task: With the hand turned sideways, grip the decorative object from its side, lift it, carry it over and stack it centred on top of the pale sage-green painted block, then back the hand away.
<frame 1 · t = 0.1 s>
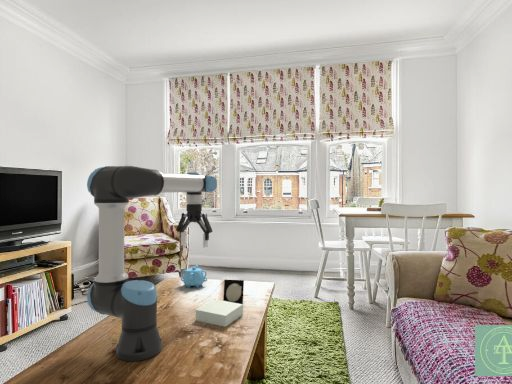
hand: (194, 246, 166), 28 cm above the table, tool pointing down, fingers open, 13 cm apart
sage block: (219, 318, 146), on the table
decorative object: (234, 303, 164), on the table
blue ceramic pot: (194, 285, 194), on the table
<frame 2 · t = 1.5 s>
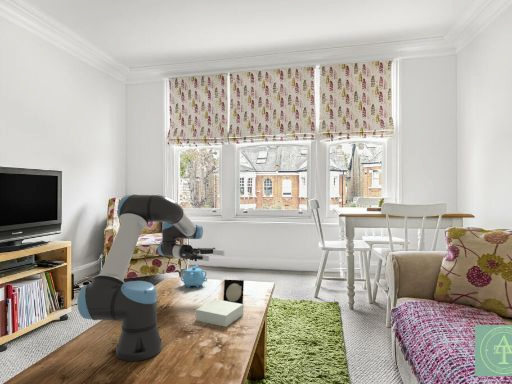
hand: (216, 255, 168), 23 cm above the table, tool horizontal, fingers open, 13 cm apart
nothing on the table moved.
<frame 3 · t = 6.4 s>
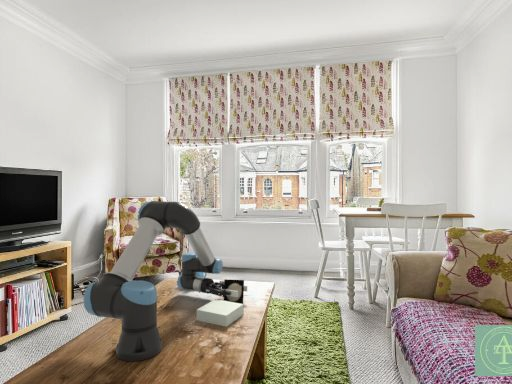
hand: (242, 291, 162), 7 cm above the table, tool horizontal, fingers closed on decorative object, 9 cm apart
decorative object: (234, 303, 164), on the table, touching gripper
everything else where it was.
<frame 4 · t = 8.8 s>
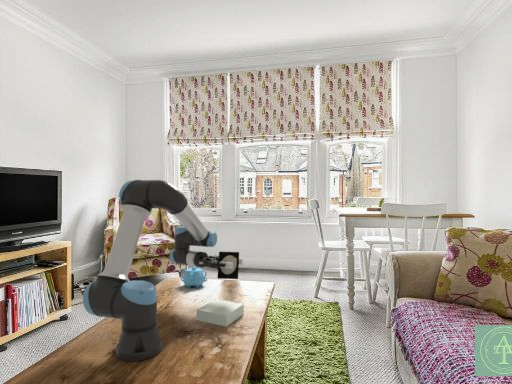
hand: (237, 263, 154), 22 cm above the table, tool horizontal, fingers closed on decorative object, 9 cm apart
decorative object: (229, 277, 157), point 15 cm above the table, touching gripper
everything else where it was.
when the fingers open (13 cm above the table, at t = 11.6 s): decorative object drops 2 cm, resting on sage block.
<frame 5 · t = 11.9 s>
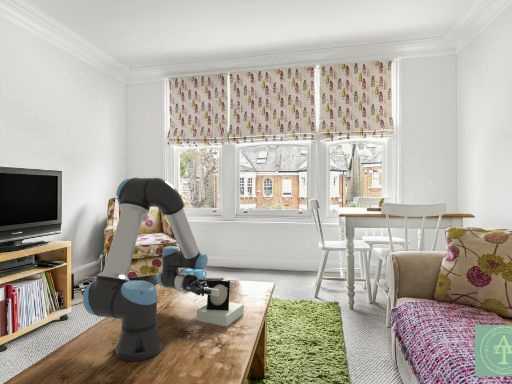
hand: (226, 288, 145), 13 cm above the table, tool horizontal, fingers open, 12 cm apart
sage block: (220, 318, 146), on the table, touching decorative object
decorative object: (219, 307, 146), point 4 cm above the table, touching sage block
everything else where it was.
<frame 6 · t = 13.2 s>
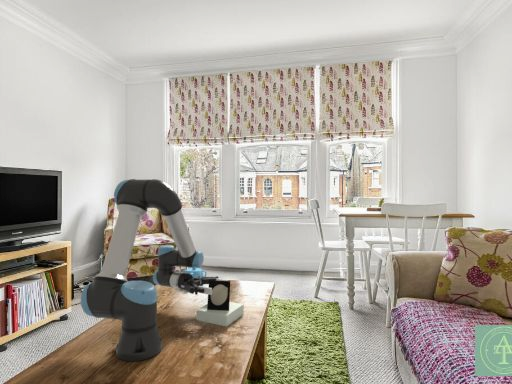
hand: (220, 287, 146), 13 cm above the table, tool horizontal, fingers open, 13 cm apart
nothing on the table moved.
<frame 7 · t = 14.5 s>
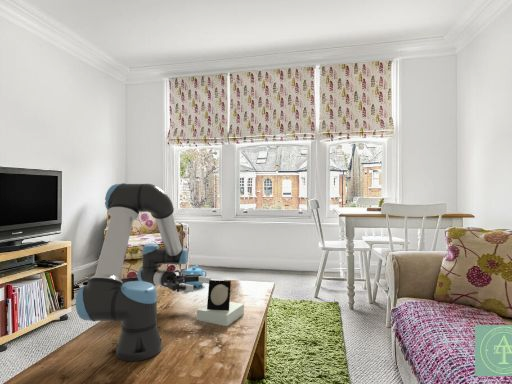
hand: (202, 284, 150), 13 cm above the table, tool horizontal, fingers open, 13 cm apart
nothing on the table moved.
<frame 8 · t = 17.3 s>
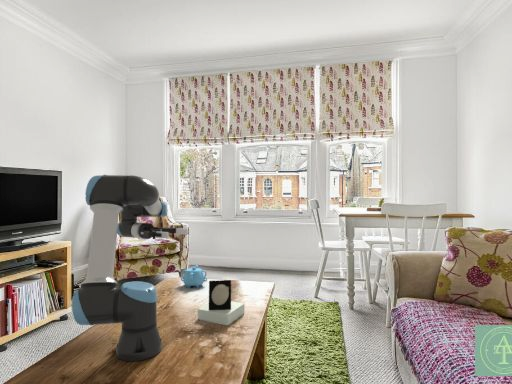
hand: (178, 233, 152), 36 cm above the table, tool horizontal, fingers open, 13 cm apart
at the end: decorative object inside the target area on the sage block (1.1 cm from its centre), point 4.8 cm above the sage block's base; decorative object tilted 0°; the gripper is holding nothing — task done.
